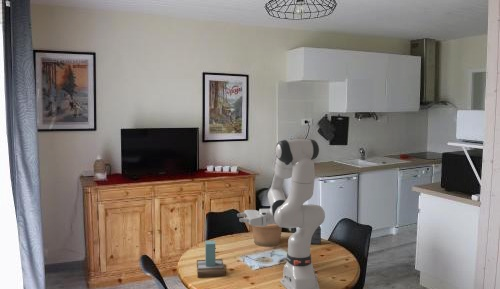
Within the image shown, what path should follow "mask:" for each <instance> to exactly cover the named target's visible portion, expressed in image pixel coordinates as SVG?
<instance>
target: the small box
mask: <svg viewBox="0 0 500 289" xmlns="http://www.w3.org/2000/svg"><path fill="white" fill-rule="evenodd" d="M311 245H322V228H321V225H320V226H319V227H318V228H317V229H316V230H315V232H314V234H313V236H312V239H311Z"/></svg>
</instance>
